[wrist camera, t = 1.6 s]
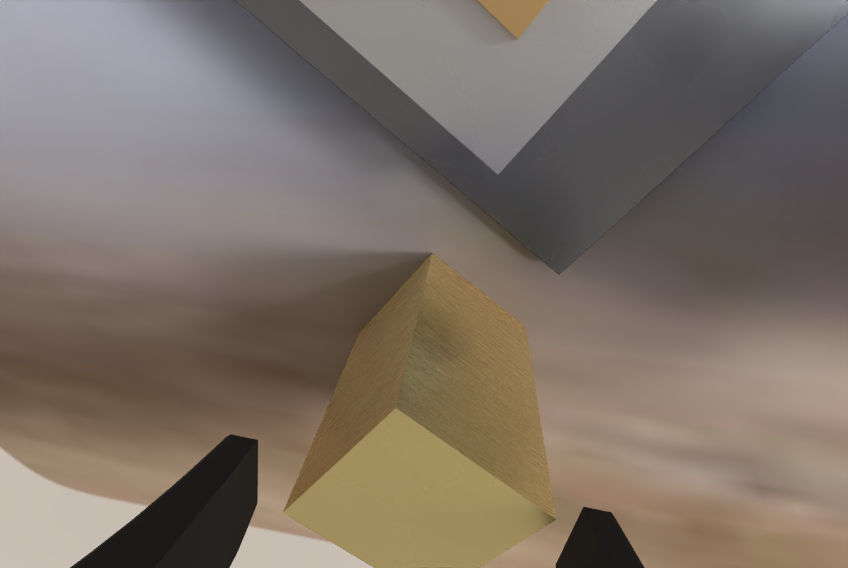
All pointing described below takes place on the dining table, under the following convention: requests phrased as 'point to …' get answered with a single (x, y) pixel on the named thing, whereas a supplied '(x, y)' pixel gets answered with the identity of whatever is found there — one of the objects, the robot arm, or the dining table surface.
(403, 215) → the dining table surface
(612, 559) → the robot arm
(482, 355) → the rectangular block
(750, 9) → the rosette base
